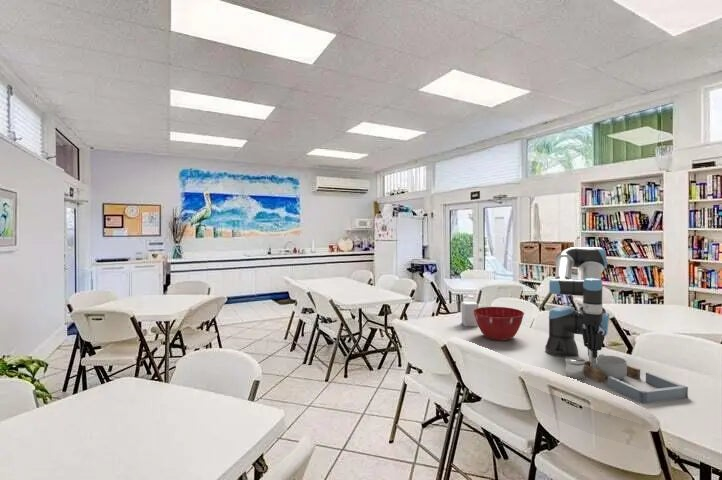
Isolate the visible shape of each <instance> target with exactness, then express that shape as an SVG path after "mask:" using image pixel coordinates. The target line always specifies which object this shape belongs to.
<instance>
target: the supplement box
mask: <svg viewBox="0 0 722 480" xmlns="http://www.w3.org/2000/svg"><path fill="white" fill-rule="evenodd" d="M477 308H479V303H477V302H475V301H461V325H463V326H464V327H479V326H478V324H477V322H476V319H475V315H474V312H473V310H475V309H477Z"/></svg>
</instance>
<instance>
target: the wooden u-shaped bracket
mask: <svg viewBox="0 0 722 480" xmlns="http://www.w3.org/2000/svg"><path fill="white" fill-rule="evenodd" d="M584 361H585V364H584V376H585V377H588V378H591V379H593V380H595V381H596V380H597V382H599V383H601V384H606V378H605V373H604V372H601V371H599V370H598V368H597V369H596V368H595V367H592V365H591V362H589V360H584ZM626 376H629V377H631V378H634V379H636V380H639V379H641V369H640V368H638V367H635V366H633V365H630V364H628V363H627V375H626Z"/></svg>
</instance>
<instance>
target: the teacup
mask: <svg viewBox="0 0 722 480" xmlns="http://www.w3.org/2000/svg"><path fill="white" fill-rule="evenodd" d="M596 361H597V370H599V371H601V372H604V373H605V379H607V380H608V377H614V378H616V379H618V380H620V381H621V380H623V379H624V378H626V377H627V376H628V375H627V364H628V360H626V359H625V358H623V357H620V356H617V355H604V354H598V356H597V358H596Z"/></svg>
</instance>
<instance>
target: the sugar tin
mask: <svg viewBox="0 0 722 480" xmlns="http://www.w3.org/2000/svg"><path fill="white" fill-rule="evenodd" d="M564 358H565V359H564V360H565V377H566V376H567V377H570V378H573V379H577V380H581V381H580V382H582V381H584V380H585V375H584V364H585V361H586V360H585V359H582V358H580V357H577V356H575V357H564Z"/></svg>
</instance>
